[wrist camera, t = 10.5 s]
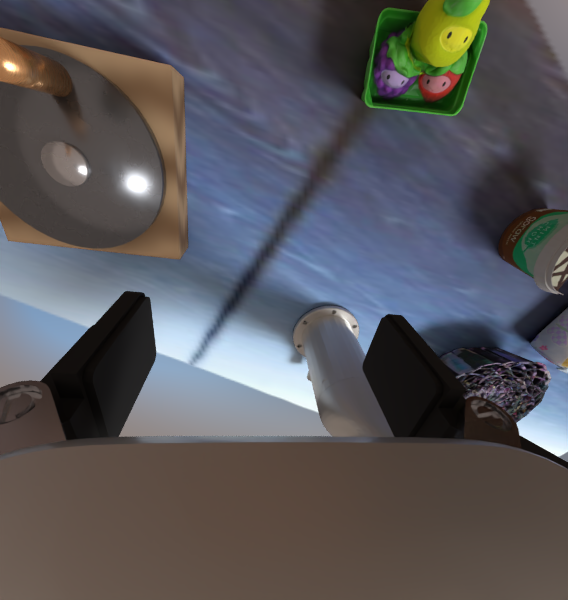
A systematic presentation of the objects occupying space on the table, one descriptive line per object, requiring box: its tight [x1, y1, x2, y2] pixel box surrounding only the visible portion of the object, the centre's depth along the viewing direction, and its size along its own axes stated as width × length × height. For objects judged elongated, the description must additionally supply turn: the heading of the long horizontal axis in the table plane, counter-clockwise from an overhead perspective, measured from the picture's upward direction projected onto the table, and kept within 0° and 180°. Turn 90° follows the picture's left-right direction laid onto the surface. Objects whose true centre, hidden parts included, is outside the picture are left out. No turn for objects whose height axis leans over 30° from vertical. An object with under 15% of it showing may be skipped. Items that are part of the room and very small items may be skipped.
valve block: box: [0, 28, 188, 259], centre depth 30 cm, size 20×20×5 cm
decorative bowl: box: [440, 347, 551, 423], centre depth 57 cm, size 26×28×10 cm
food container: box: [498, 208, 568, 295], centre depth 38 cm, size 12×6×10 cm, turn 166°
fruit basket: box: [361, 0, 490, 116], centre depth 26 cm, size 11×9×11 cm
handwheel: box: [0, 37, 166, 249], centre depth 24 cm, size 18×18×9 cm
